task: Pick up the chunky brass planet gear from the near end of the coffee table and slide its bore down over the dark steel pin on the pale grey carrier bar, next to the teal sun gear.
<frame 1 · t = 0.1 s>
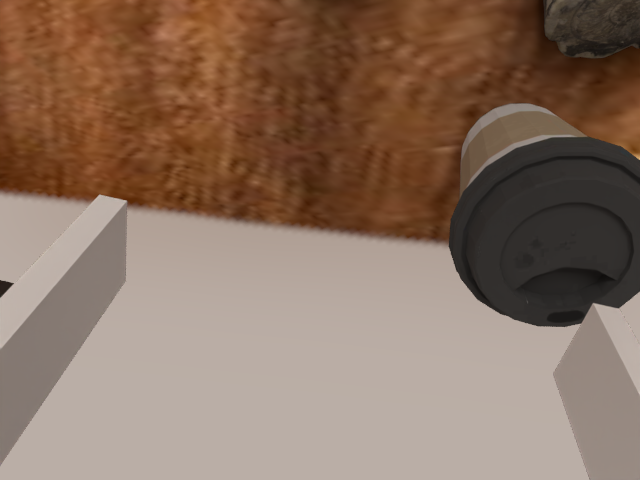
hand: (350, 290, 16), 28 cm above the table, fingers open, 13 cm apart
coffee cup: (511, 148, 43), on the table
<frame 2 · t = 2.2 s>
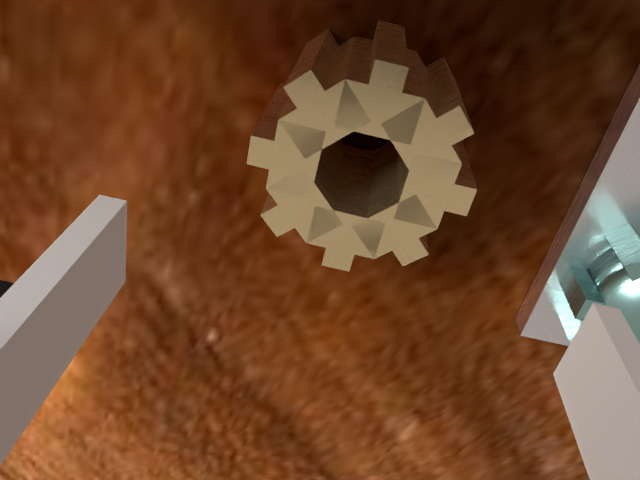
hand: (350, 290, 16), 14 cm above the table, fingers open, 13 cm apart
planet gear: (366, 115, 28), on the table
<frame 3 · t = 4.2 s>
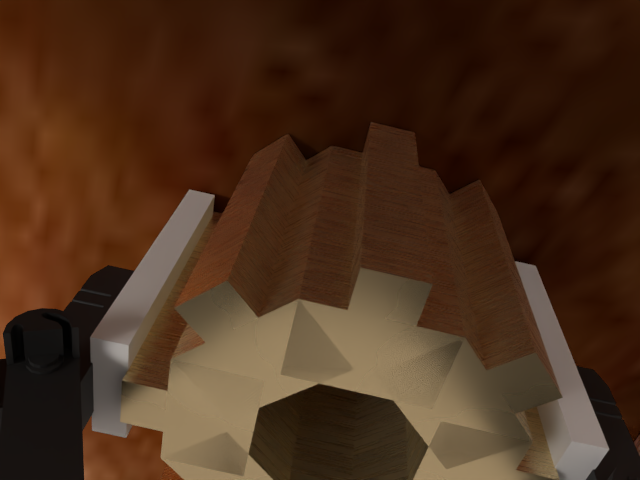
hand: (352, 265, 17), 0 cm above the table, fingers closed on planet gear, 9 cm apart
planet gear: (353, 261, 18), on the table, touching gripper
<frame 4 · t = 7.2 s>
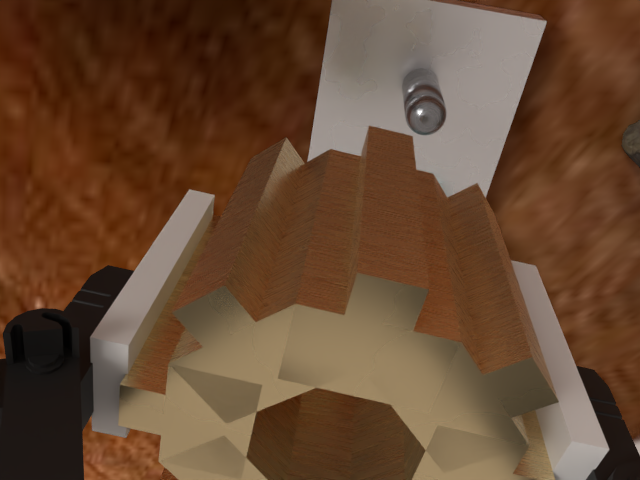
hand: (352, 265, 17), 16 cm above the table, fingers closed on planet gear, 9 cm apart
carrier: (418, 77, 30), on the table
planet gear: (351, 264, 18), point 16 cm above the table, touching gripper
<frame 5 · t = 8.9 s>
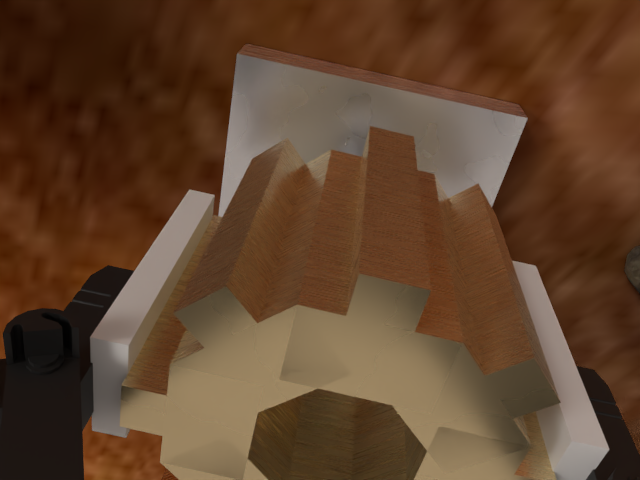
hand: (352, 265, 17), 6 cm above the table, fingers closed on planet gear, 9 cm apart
carrier: (358, 173, 23), on the table
planet gear: (352, 264, 18), point 6 cm above the table, touching gripper
when the fingers open (3 cm above the table, at t = 10.4 s): planet gear drops 1 cm, resting on carrier.
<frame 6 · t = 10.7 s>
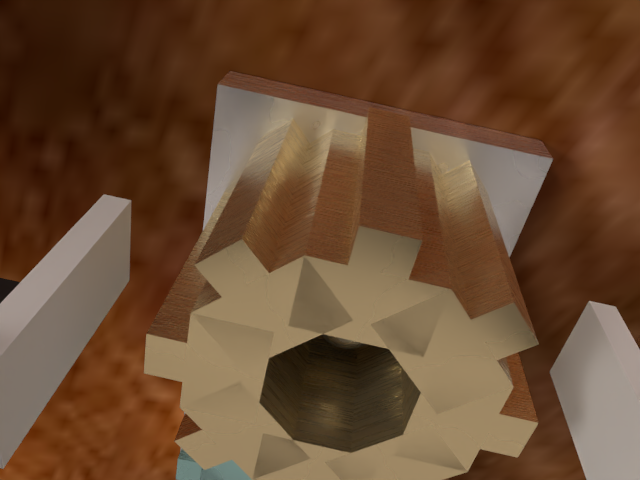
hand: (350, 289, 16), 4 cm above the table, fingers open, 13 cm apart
carrier: (357, 215, 20), on the table
planet gear: (353, 238, 19), point 1 cm above the table, touching carrier
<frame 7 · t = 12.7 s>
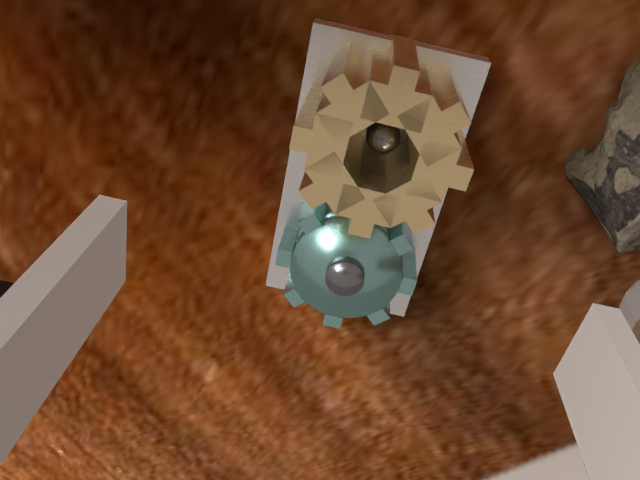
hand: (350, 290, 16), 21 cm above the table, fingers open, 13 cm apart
carrier: (384, 104, 35), on the table
planet gear: (382, 113, 34), point 1 cm above the table, touching carrier
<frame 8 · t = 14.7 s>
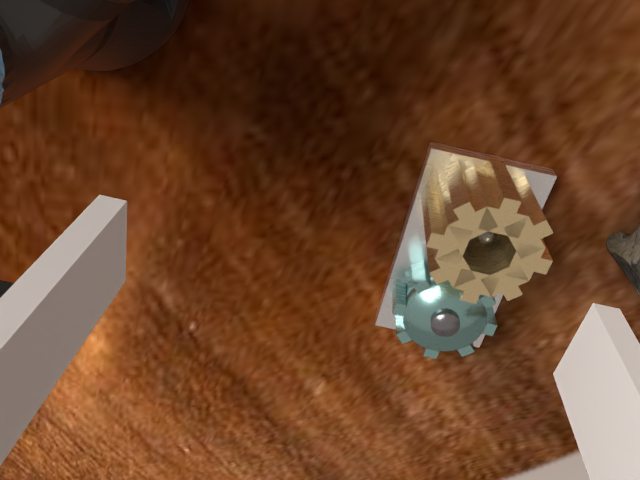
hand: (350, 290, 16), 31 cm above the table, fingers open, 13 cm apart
carrier: (474, 198, 48), on the table
planet gear: (476, 207, 47), point 1 cm above the table, touching carrier
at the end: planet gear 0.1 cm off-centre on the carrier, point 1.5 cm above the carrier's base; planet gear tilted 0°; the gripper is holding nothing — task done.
